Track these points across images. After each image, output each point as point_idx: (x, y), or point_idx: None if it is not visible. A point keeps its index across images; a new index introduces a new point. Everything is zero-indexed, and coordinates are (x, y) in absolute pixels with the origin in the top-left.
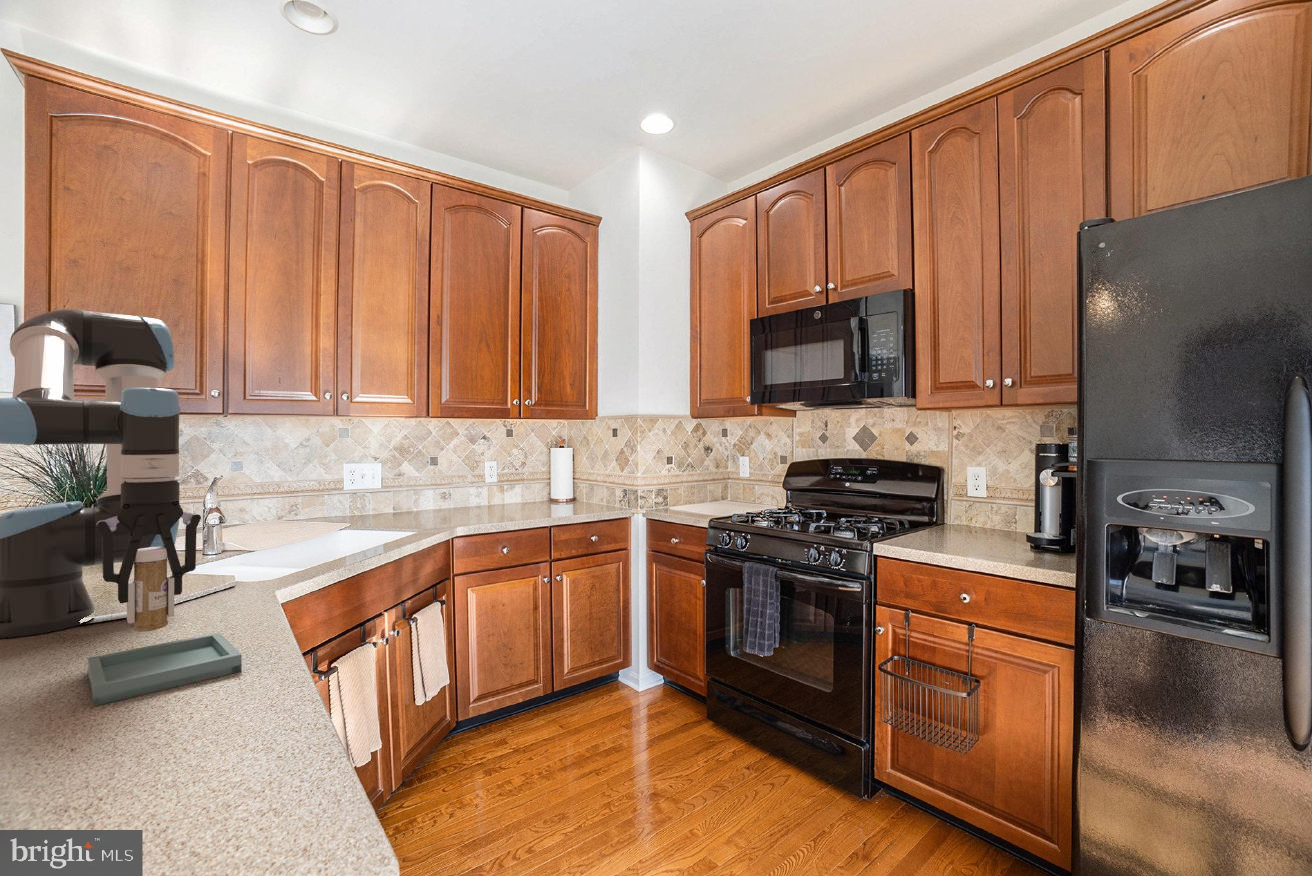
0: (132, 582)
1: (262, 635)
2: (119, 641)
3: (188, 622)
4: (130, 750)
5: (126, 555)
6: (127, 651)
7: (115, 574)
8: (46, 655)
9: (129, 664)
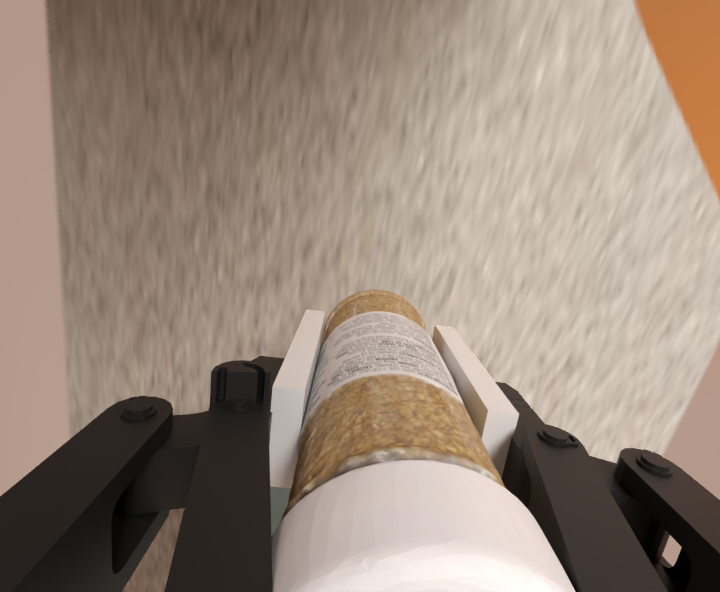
0: (289, 456)
1: (607, 456)
2: (326, 123)
3: (563, 33)
4: None
5: None
6: (276, 500)
7: (172, 498)
8: (135, 104)
9: (280, 513)
